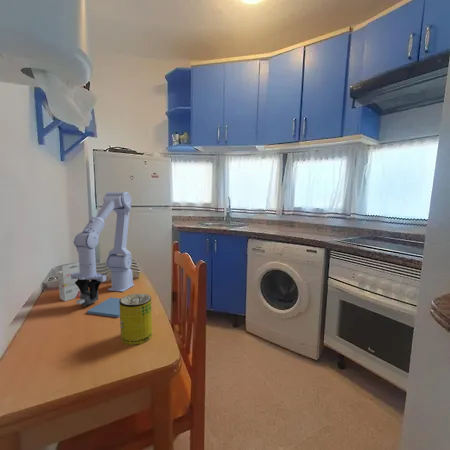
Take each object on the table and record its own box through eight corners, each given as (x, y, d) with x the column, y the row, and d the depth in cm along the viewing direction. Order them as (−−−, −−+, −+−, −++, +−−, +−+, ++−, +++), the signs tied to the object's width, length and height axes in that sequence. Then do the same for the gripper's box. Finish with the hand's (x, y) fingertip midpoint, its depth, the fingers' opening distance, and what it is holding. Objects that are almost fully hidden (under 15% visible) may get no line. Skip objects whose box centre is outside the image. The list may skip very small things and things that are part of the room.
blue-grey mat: (110, 299, 109) (110, 297, 109) (139, 303, 105) (138, 300, 105) (87, 313, 96) (87, 310, 96) (118, 317, 93) (118, 315, 93)
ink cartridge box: (80, 292, 116) (78, 260, 115) (85, 295, 113) (83, 261, 112) (59, 298, 110) (56, 264, 108) (64, 301, 107) (61, 266, 105)
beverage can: (151, 327, 86) (149, 292, 85) (153, 342, 78) (152, 302, 76) (121, 332, 83) (119, 295, 82) (120, 347, 75) (118, 307, 73)
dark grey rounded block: (93, 297, 107) (92, 288, 107) (100, 298, 107) (99, 288, 106) (75, 307, 98) (74, 296, 98) (82, 308, 98) (81, 297, 97)
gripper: (63, 265, 100) (65, 299, 101) (96, 267, 96) (98, 303, 98) (78, 260, 106) (80, 293, 108) (109, 262, 103) (110, 296, 104)
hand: (89, 297), depth 103 cm, fingers closed on dark grey rounded block, 3 cm apart
